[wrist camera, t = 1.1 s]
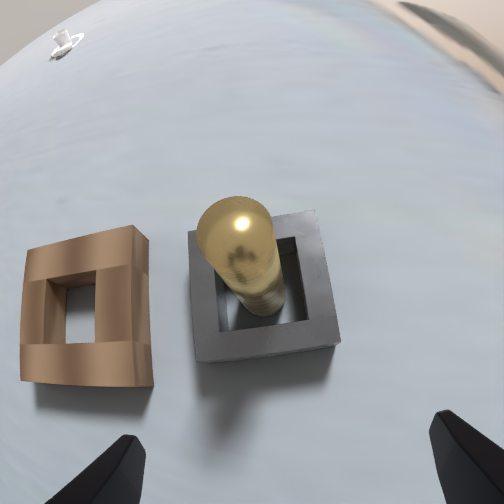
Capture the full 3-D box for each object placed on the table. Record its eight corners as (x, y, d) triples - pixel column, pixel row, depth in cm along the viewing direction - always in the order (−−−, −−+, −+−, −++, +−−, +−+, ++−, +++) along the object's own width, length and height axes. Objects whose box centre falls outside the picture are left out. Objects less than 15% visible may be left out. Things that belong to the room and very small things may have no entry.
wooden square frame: (42, 382, 23) (20, 380, 20) (46, 261, 28) (27, 250, 25) (154, 386, 22) (135, 386, 19) (148, 239, 26) (132, 224, 24)
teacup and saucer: (70, 55, 45) (61, 40, 41) (44, 65, 47) (35, 52, 43) (90, 31, 48) (83, 17, 44) (64, 41, 50) (56, 28, 46)
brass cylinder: (244, 319, 23) (198, 273, 13) (239, 276, 24) (194, 203, 14) (288, 312, 23) (278, 260, 12) (282, 270, 24) (267, 190, 14)
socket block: (209, 363, 22) (196, 361, 19) (199, 247, 25) (187, 231, 23) (335, 345, 21) (341, 341, 18) (313, 228, 25) (314, 209, 22)
